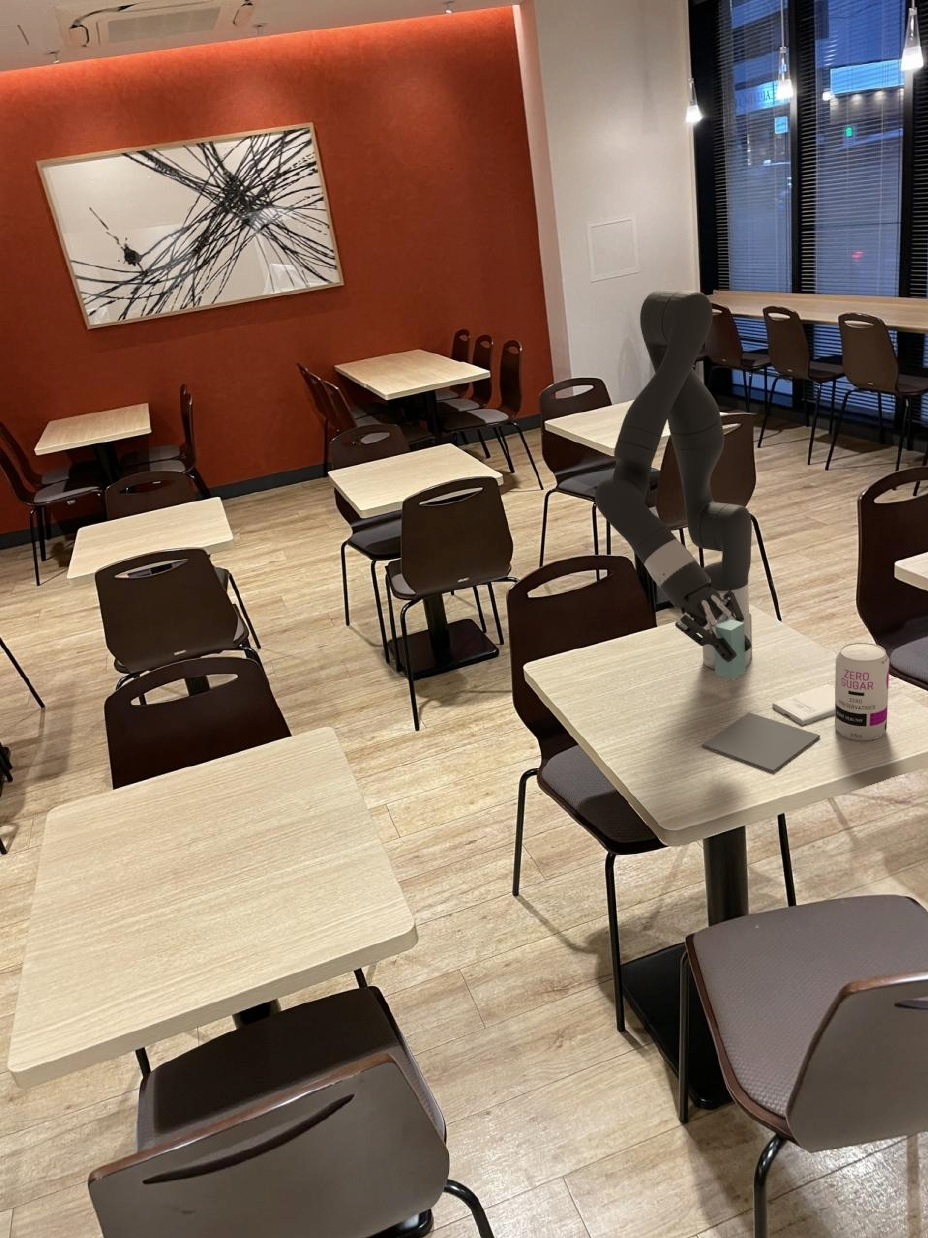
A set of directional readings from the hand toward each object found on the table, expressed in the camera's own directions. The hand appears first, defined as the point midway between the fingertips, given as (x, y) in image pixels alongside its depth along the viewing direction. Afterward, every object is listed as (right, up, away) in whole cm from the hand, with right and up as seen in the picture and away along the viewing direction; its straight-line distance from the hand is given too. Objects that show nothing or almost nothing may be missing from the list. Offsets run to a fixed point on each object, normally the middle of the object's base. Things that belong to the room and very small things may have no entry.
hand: (740, 654), depth 155 cm
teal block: (-1, -3, +3) cm, 5 cm away
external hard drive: (+18, -11, +16) cm, 27 cm away
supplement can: (+22, -13, +6) cm, 27 cm away
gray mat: (+6, -15, +7) cm, 18 cm away
